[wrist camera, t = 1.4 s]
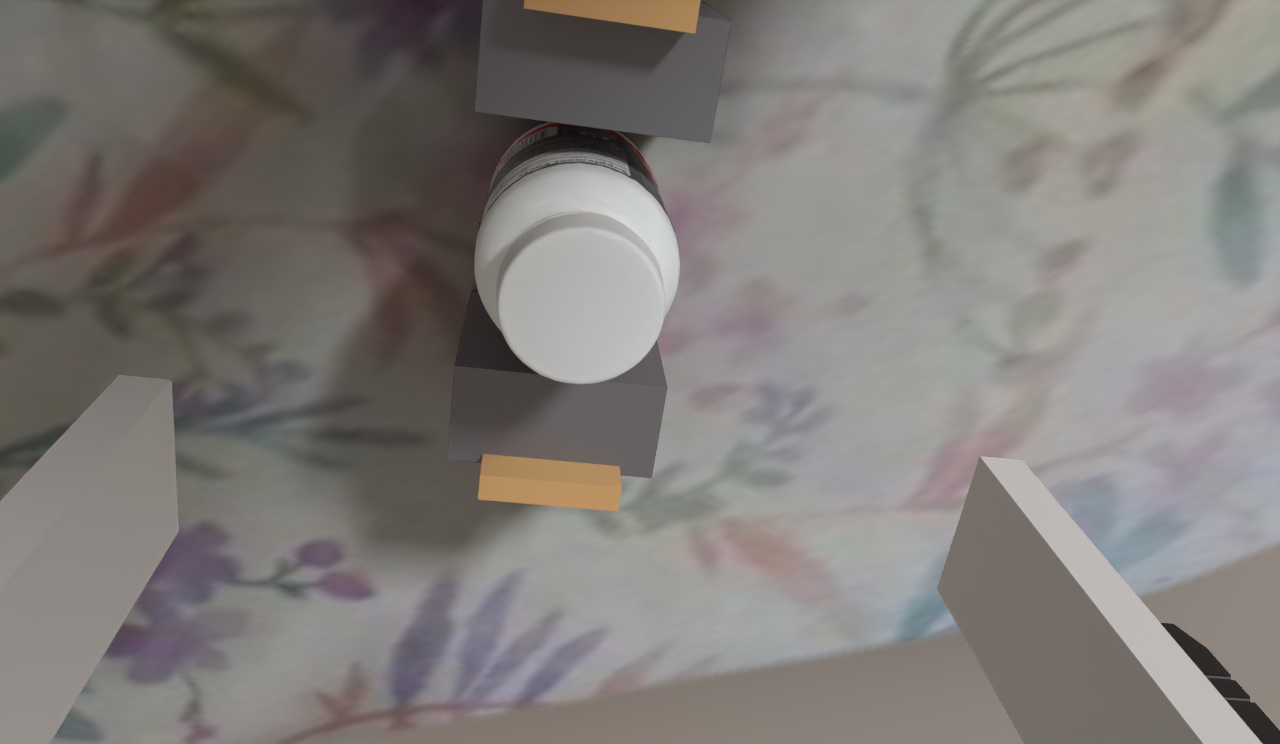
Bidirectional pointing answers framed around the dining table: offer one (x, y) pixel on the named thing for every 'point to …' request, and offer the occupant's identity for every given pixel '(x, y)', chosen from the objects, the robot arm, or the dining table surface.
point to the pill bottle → (576, 253)
